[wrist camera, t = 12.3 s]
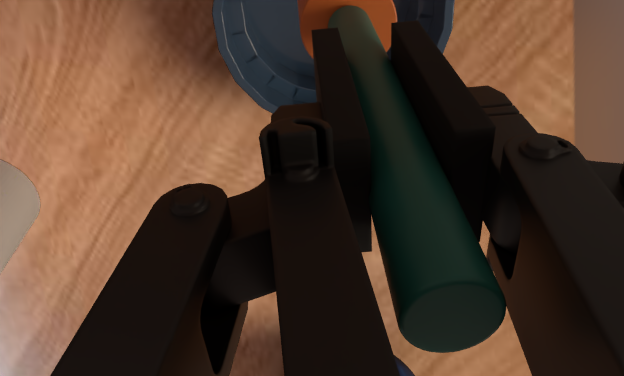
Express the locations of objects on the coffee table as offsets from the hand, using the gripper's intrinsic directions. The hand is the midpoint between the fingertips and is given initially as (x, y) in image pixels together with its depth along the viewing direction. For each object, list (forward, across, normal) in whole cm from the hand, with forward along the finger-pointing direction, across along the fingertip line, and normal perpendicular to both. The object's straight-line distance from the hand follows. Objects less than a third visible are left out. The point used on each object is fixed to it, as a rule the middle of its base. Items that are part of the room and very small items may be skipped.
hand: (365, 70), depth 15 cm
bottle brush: (+9, 0, 0) cm, 9 cm away
